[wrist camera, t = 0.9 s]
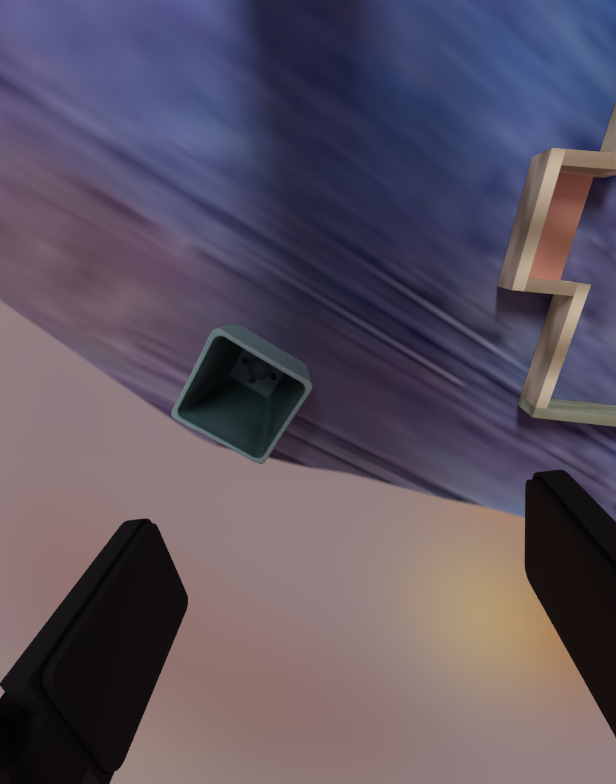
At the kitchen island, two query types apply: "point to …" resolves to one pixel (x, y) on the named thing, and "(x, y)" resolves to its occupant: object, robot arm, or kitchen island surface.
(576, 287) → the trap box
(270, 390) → the flower pot
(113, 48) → the kitchen island surface
